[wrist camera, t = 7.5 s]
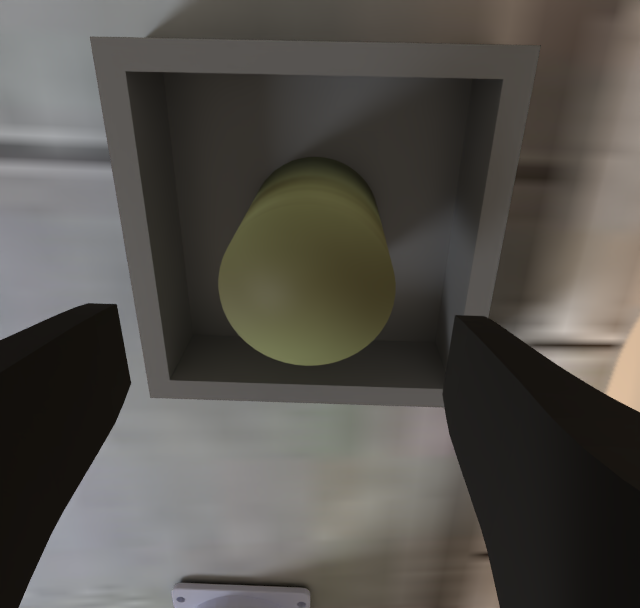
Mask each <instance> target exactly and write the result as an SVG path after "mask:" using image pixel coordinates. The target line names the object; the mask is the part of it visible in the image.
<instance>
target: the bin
mask: <svg viewBox="0 0 640 608" xmlns="http://www.w3.org/2000/svg"><path fill="white" fill-rule="evenodd" d="M90 41H91V47H92V53H93V59H94V65H95V70H96V76H97V82H98V88H99V94H100V100H101V106H102V112H103V118H104V124H105V130H106V136H107V142H108V148H109V154H110V160H111V166H112V172H113V178H114V184H115V190H116V196H117V202H118V207H119V213H120V219H121V225H122V231H123V237H124V243H125V249H126V255H127V261H128V267H129V273H130V279H131V285H132V291H133V297H134V303H135V309H136V315H137V321H138V327H139V333H140V339H141V345H142V350H143V356H144V362H145V368H146V374H147V380H148V386H149V392H150V398H173V399H204V400H234V401H265V402H295V403H325V404H356V405H386V406H417V407H444V402H443V396H442V392H443V386H444V380H445V374H446V367H447V361H448V355H449V349H450V342H451V336H452V330H453V324H454V318H455V315H469V316H485V317H487V318H488V317H489V312H490V307H491V301H492V296H493V291H494V286H495V281H496V275H497V270H498V265H499V260H500V255H501V249H502V244H503V239H504V234H505V229H506V224H507V218H508V213H509V208H510V203H511V198H512V192H513V187H514V182H515V177H516V172H517V167H518V161H519V156H520V151H521V146H522V141H523V135H524V130H525V125H526V120H527V115H528V109H529V104H530V99H531V94H532V89H533V84H534V78H535V73H536V68H537V63H538V58H539V52H540V47H541V45H493V44H442V43H390V42H339V41H287V40H236V39H184V38H133V37H90ZM306 157H323V158H329V159H333V160H336V161H339V162H341V163H343V164H345V165H347V166H349V167H350V168H352V169H353V170H354V171H356V172H357V173H358V174H359V175H360V176H361V177H362V178H363V179H364V180H365V182H366V183H367V184H368V186H369V187H370V189H371V191H372V193H373V195H374V197H375V200H376V204H377V208H378V212H379V215H380V219H381V223H382V227H383V231H384V235H385V239H386V243H387V246H388V250H389V254H390V258H391V262H392V266H393V270H394V274H395V282H396V291H395V300H394V305H393V308H392V311H391V314H390V317H389V319H388V321H387V323H386V324H385V326H384V327H383V329H382V331H381V332H380V333H379V334H378V336H377V337H376V338H375V339H374V340H373V341H372V342H371V343H370V344H368V345H367V346H366V347H365V348H363V349H362V350H360V351H359V352H358V353H356V354H354V355H352V356H350V357H348V358H346V359H343V360H340V361H337V362H333V363H329V364H324V365H313V366H304V365H294V364H289V363H284V362H281V361H278V360H275V359H273V358H270V357H268V356H266V355H264V354H262V353H261V352H259V351H257V350H255V349H254V348H253V347H251V346H250V345H249V344H247V343H246V342H245V341H244V340H243V339H242V338H241V337H240V336H239V335H238V333H237V332H236V331H235V330H234V329H233V327H232V326H231V324H230V322H229V321H228V319H227V317H226V315H225V313H224V310H223V308H222V304H221V301H220V296H219V289H218V278H219V271H220V266H221V262H222V259H223V256H224V254H225V252H226V250H227V248H228V246H229V244H230V242H231V240H232V239H233V237H234V235H235V233H236V231H237V229H238V228H239V226H240V224H241V222H242V220H243V219H244V217H245V215H246V213H247V211H248V209H249V208H250V206H251V204H252V202H253V200H254V199H255V197H256V195H257V193H258V191H259V189H260V188H261V186H262V185H263V183H264V182H265V180H266V179H267V178H268V177H269V176H270V175H271V174H272V173H273V172H274V171H275V170H277V169H278V168H280V167H281V166H283V165H284V164H287V163H289V162H291V161H294V160H297V159H301V158H306Z"/></svg>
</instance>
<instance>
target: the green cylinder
mask: <svg viewBox="0 0 640 608" xmlns="http://www.w3.org/2000/svg"><path fill="white" fill-rule="evenodd" d="M218 289H219V296H220V301H221V304H222V308H223V310H224V313H225V315H226V317H227V319H228V321H229V322H230V324H231V326H232V327H233V329H234V330H235V331H236V332H237V333H238V335H239V336H240V337H241V338H242V339H243V340H244V341H245V342H246V343H247V344H249V345H250V346H251V347H253V348H254V349H255V350H257V351H259V352H261V353H262V354H264V355H266V356H268V357H270V358H273V359H275V360H278V361H281V362H284V363H289V364H294V365H304V366H313V365H324V364H329V363H333V362H337V361H340V360H343V359H346V358H348V357H350V356H352V355H354V354H356V353H358V352H359V351H360V350H362V349H363V348H365V347H366V346H367V345H368V344H370V343H371V342H372V341H373V340H374V339H375V338H376V337H377V336H378V334H379V333H380V332H381V331H382V329H383V327H384V326H385V324H386V323H387V321H388V319H389V317H390V314H391V311H392V308H393V305H394V300H395V291H396V282H395V274H394V270H393V266H392V262H391V258H390V254H389V250H388V246H387V243H386V239H385V235H384V231H383V227H382V223H381V219H380V215H379V212H378V208H377V204H376V200H375V197H374V195H373V193H372V191H371V189H370V187H369V186H368V184H367V183H366V182H365V180H364V179H363V178H362V177H361V176H360V175H359V174H358V173H357V172H356V171H354V170H353V169H352V168H350V167H349V166H347V165H345V164H343V163H341V162H339V161H336V160H333V159H329V158H323V157H306V158H301V159H297V160H294V161H291V162H289V163H287V164H284V165H283V166H281V167H280V168H278V169H277V170H275V171H274V172H273V173H272V174H271V175H270V176H269V177H268V178H267V179H266V180H265V182H264V183H263V185H262V186H261V188H260V189H259V191H258V193H257V195H256V197H255V199H254V200H253V202H252V204H251V206H250V208H249V209H248V211H247V213H246V215H245V217H244V219H243V220H242V222H241V224H240V226H239V228H238V229H237V231H236V233H235V235H234V237H233V239H232V240H231V242H230V244H229V246H228V248H227V250H226V252H225V254H224V256H223V259H222V262H221V266H220V271H219V278H218Z"/></svg>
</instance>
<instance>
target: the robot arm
mask: <svg viewBox="0 0 640 608" xmlns="http://www.w3.org/2000/svg"><path fill="white" fill-rule="evenodd" d="M130 385H131V380H130V375H129V369H128V364H127V358H126V353H125V347H124V342H123V336H122V331H121V325H120V320H119V314H118V309H117V304H93V303H88V304H85V305H81V306H78V307H75V308H73V309H70V310H68V311H65V312H63V313H60V314H58V315H56V316H54V317H51V318H49V319H47V320H44V321H42V322H40V323H38V324H36V325H33V326H31V327H29V328H27V329H25V330H22V331H20V332H18V333H16V334H13V335H11V336H9V337H7V338H5V339H2V340H0V608H18V607H19V605H20V603H21V600H22V598H23V596H24V593H25V591H26V589H27V586H28V584H29V582H30V579H31V577H32V575H33V573H34V571H35V568H36V566H37V564H38V562H39V560H40V557H41V555H42V553H43V551H44V549H45V547H46V544H47V542H48V540H49V538H50V536H51V534H52V532H53V530H54V528H55V526H56V524H57V522H58V520H59V518H60V517H61V515H62V513H63V511H64V509H65V508H66V506H67V504H68V503H69V501H70V499H71V498H72V496H73V494H74V492H75V491H76V489H77V487H78V486H79V484H80V482H81V481H82V479H83V477H84V476H85V474H86V472H87V471H88V469H89V467H90V465H91V464H92V462H93V460H94V459H95V457H96V455H97V454H98V452H99V450H100V448H101V447H102V445H103V443H104V442H105V440H106V438H107V436H108V435H109V433H110V431H111V429H112V428H113V426H114V424H115V422H116V420H117V418H118V415H119V413H120V410H121V408H122V406H123V403H124V401H125V398H126V395H127V393H128V390H129V387H130ZM442 396H443V402H444V407H445V413H446V419H447V424H448V429H449V434H450V437H451V440H452V443H453V446H454V450H455V453H456V456H457V459H458V462H459V465H460V468H461V471H462V474H463V477H464V479H465V482H466V485H467V488H468V491H469V494H470V497H471V500H472V503H473V506H474V509H475V512H476V515H477V518H478V521H479V524H480V527H481V530H482V534H483V537H484V541H485V544H486V547H487V551H488V555H489V560H490V564H491V569H492V573H493V578H494V582H495V587H496V591H497V596H498V600H499V605H500V608H640V412H638V411H636V410H634V409H632V408H630V407H628V406H626V405H624V404H622V403H620V402H618V401H617V400H615V399H613V398H611V397H609V396H607V395H606V394H604V393H602V392H600V391H599V390H597V389H595V388H594V387H592V386H590V385H589V384H587V383H585V382H584V381H582V380H580V379H579V378H577V377H575V376H574V375H572V374H570V373H569V372H567V371H566V370H564V369H563V368H561V367H560V366H558V365H557V364H555V363H553V362H552V361H550V360H549V359H547V358H546V357H545V356H543V355H542V354H540V353H539V352H537V351H536V350H534V349H533V348H531V347H530V346H529V345H527V344H526V343H524V342H523V341H521V340H520V339H519V338H517V337H516V336H514V335H513V334H511V333H510V332H509V331H507V330H506V329H504V328H503V327H501V326H500V325H498V324H497V323H495V322H494V321H492V320H490V319H489V318H487V317H485V316H469V315H455V318H454V324H453V330H452V336H451V342H450V349H449V355H448V361H447V367H446V374H445V380H444V386H443V392H442ZM172 598H173V604H174V608H310V591H309V590H308V589H306V588H301V587H276V586H251V585H225V584H200V583H177V584H175V585H174V586H173V589H172Z"/></svg>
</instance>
